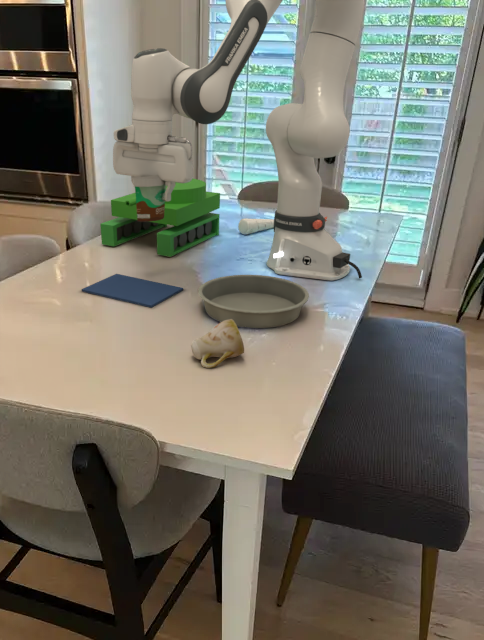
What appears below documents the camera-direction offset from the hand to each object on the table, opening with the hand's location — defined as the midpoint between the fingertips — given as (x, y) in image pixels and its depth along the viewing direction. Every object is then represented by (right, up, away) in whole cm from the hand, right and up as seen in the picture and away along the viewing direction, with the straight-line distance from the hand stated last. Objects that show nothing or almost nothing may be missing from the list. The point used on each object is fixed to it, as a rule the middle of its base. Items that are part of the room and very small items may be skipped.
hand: (153, 198), depth 142 cm
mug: (+15, -41, -27) cm, 51 cm away
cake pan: (+23, -28, -5) cm, 36 cm away
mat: (-5, -21, +4) cm, 22 cm away
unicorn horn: (+32, +11, +57) cm, 66 cm away
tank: (-2, +2, +40) cm, 40 cm away
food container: (0, -4, +2) cm, 5 cm away
